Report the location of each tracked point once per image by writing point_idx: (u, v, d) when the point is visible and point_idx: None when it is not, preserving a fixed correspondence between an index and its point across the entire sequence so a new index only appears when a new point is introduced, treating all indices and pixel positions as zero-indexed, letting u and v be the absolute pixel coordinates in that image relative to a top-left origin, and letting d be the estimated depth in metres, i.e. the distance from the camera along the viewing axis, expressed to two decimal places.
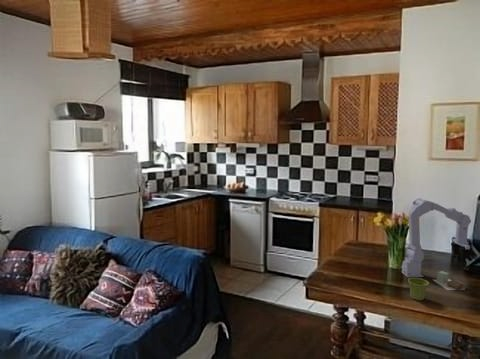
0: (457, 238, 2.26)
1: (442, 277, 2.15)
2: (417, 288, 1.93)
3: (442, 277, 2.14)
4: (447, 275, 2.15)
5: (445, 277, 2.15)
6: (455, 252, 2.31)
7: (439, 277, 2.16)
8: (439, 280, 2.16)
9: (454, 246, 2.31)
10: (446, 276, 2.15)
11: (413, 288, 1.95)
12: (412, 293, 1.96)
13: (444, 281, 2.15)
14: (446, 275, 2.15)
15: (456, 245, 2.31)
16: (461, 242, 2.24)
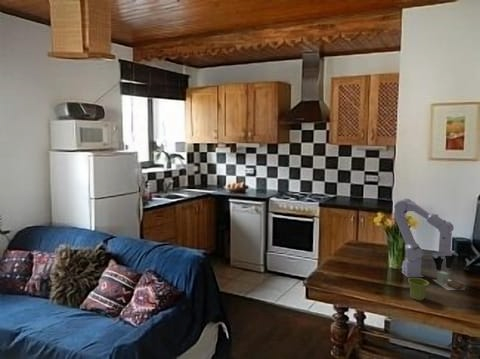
0: None
1: (442, 277, 2.15)
2: (417, 288, 1.93)
3: (442, 277, 2.14)
4: (447, 275, 2.15)
5: (445, 277, 2.15)
6: (447, 264, 2.18)
7: (439, 277, 2.16)
8: (439, 280, 2.16)
9: (446, 257, 2.18)
10: (446, 276, 2.15)
11: (413, 288, 1.95)
12: (412, 293, 1.96)
13: (444, 281, 2.15)
14: (446, 275, 2.15)
15: (448, 256, 2.17)
16: (439, 251, 2.15)
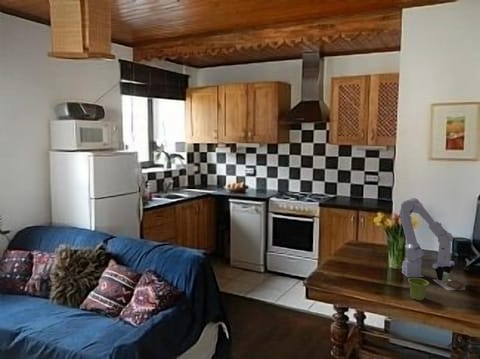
0: None
1: (442, 277, 2.15)
2: (417, 288, 1.93)
3: (442, 277, 2.14)
4: (447, 275, 2.15)
5: (445, 277, 2.15)
6: None
7: None
8: (439, 280, 2.16)
9: (443, 268, 2.18)
10: (446, 276, 2.15)
11: (413, 288, 1.95)
12: (412, 293, 1.96)
13: (444, 281, 2.15)
14: (446, 275, 2.15)
15: (445, 267, 2.17)
16: (438, 261, 2.16)
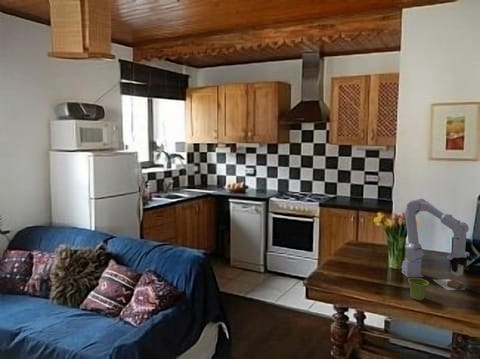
0: None
1: (457, 270, 2.07)
2: (417, 288, 1.93)
3: (457, 270, 2.06)
4: (462, 268, 2.07)
5: (460, 269, 2.07)
6: None
7: None
8: (453, 273, 2.09)
9: (458, 259, 2.10)
10: (461, 269, 2.07)
11: (413, 288, 1.95)
12: (412, 293, 1.96)
13: (459, 274, 2.07)
14: (461, 268, 2.07)
15: (460, 258, 2.09)
16: (453, 252, 2.08)
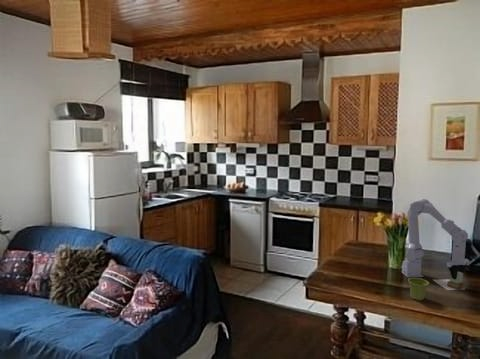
0: None
1: None
2: (417, 288, 1.93)
3: None
4: (461, 275, 2.08)
5: (459, 277, 2.07)
6: None
7: None
8: (453, 280, 2.09)
9: (457, 266, 2.11)
10: (460, 276, 2.08)
11: (413, 288, 1.95)
12: (412, 293, 1.96)
13: (458, 281, 2.07)
14: (460, 275, 2.07)
15: (459, 266, 2.10)
16: (452, 260, 2.08)
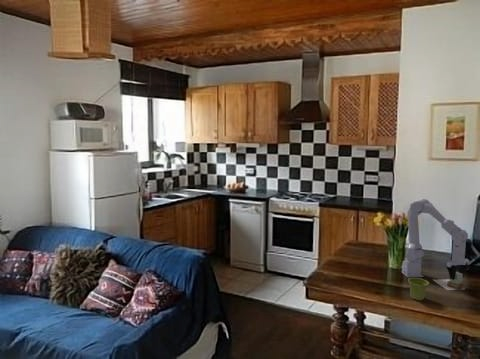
0: None
1: (456, 278, 2.07)
2: (417, 288, 1.93)
3: (456, 278, 2.07)
4: (461, 276, 2.08)
5: (459, 277, 2.07)
6: None
7: None
8: (453, 281, 2.09)
9: (459, 266, 2.11)
10: (460, 277, 2.08)
11: (413, 288, 1.95)
12: (412, 293, 1.96)
13: (458, 282, 2.07)
14: (460, 276, 2.08)
15: (461, 265, 2.10)
16: (452, 260, 2.08)
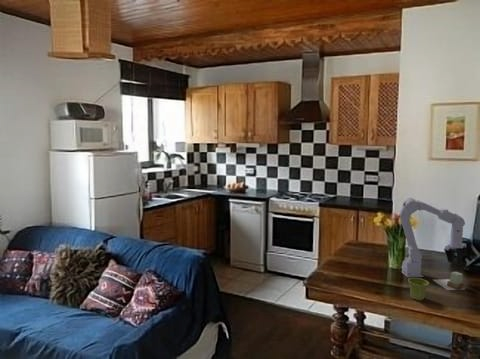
0: None
1: (456, 278, 2.07)
2: (417, 288, 1.93)
3: (456, 278, 2.07)
4: (461, 276, 2.08)
5: (459, 277, 2.07)
6: (458, 256, 2.23)
7: (453, 278, 2.09)
8: (453, 281, 2.09)
9: (457, 249, 2.23)
10: (460, 277, 2.08)
11: (413, 288, 1.95)
12: (412, 293, 1.96)
13: (458, 282, 2.07)
14: (460, 276, 2.08)
15: (459, 249, 2.22)
16: (450, 243, 2.20)
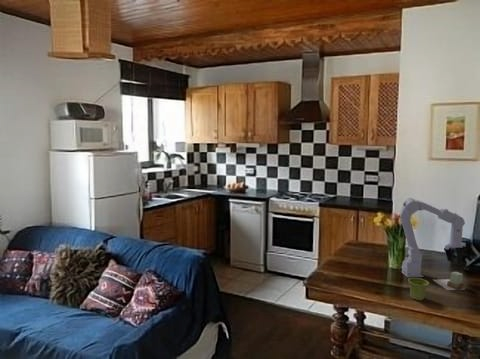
0: None
1: (456, 278, 2.07)
2: (417, 288, 1.93)
3: (456, 278, 2.07)
4: (461, 276, 2.08)
5: (459, 277, 2.07)
6: (457, 255, 2.24)
7: (453, 278, 2.09)
8: (453, 281, 2.09)
9: (457, 249, 2.25)
10: (460, 277, 2.08)
11: (413, 288, 1.95)
12: (412, 293, 1.96)
13: (458, 282, 2.07)
14: (460, 276, 2.08)
15: (459, 248, 2.24)
16: (450, 243, 2.21)
